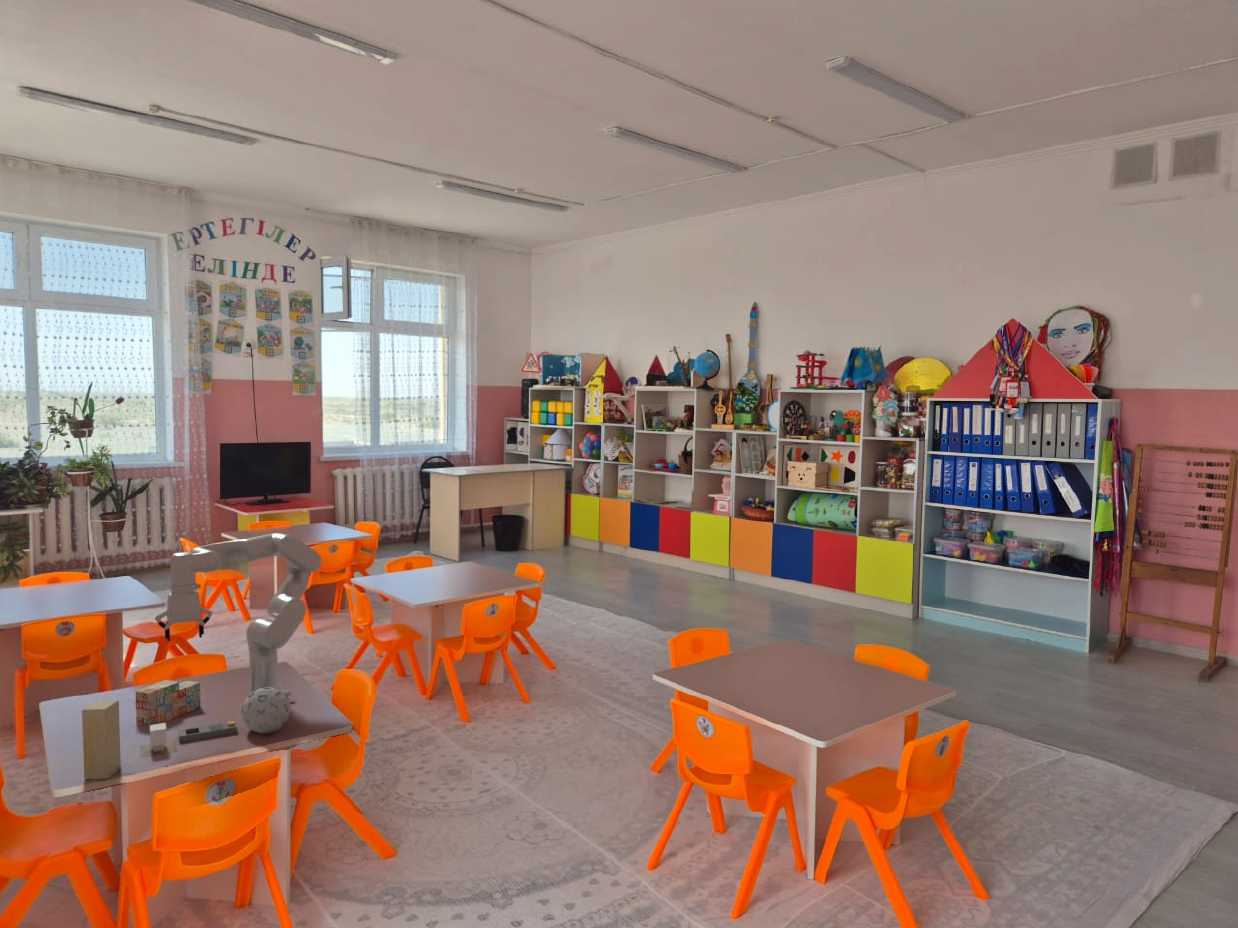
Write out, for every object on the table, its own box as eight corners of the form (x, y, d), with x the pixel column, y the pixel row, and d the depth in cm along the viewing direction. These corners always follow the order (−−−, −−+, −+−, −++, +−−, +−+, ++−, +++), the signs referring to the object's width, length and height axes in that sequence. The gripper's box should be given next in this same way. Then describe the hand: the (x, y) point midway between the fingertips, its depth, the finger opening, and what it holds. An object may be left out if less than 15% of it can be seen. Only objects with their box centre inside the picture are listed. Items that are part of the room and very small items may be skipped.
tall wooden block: (95, 768, 249) (93, 700, 248) (121, 767, 250) (119, 699, 248) (81, 780, 241) (78, 709, 240) (107, 779, 242) (105, 709, 240)
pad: (175, 742, 268) (175, 739, 268) (176, 754, 260) (176, 750, 260) (139, 748, 263) (139, 745, 263) (140, 760, 255) (140, 757, 255)
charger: (166, 743, 265) (165, 722, 265) (166, 750, 260) (166, 728, 260) (150, 746, 263) (149, 725, 262) (150, 752, 258) (150, 731, 257)
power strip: (235, 729, 280) (234, 718, 280) (237, 735, 275) (236, 724, 275) (178, 739, 271) (178, 727, 271) (179, 745, 266) (179, 734, 266)
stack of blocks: (188, 704, 303) (187, 672, 302) (201, 707, 301) (200, 674, 300) (135, 725, 283) (135, 690, 282) (149, 728, 281) (148, 692, 280)
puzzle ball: (292, 735, 275) (292, 692, 274) (242, 743, 269) (242, 698, 268) (288, 720, 289) (288, 678, 288) (241, 727, 282) (240, 684, 281)
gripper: (211, 584, 288) (211, 632, 289) (154, 589, 279) (155, 639, 280) (212, 588, 281) (213, 637, 282) (154, 593, 273) (155, 644, 274)
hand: (184, 638), depth 281 cm, fingers open, 9 cm apart
